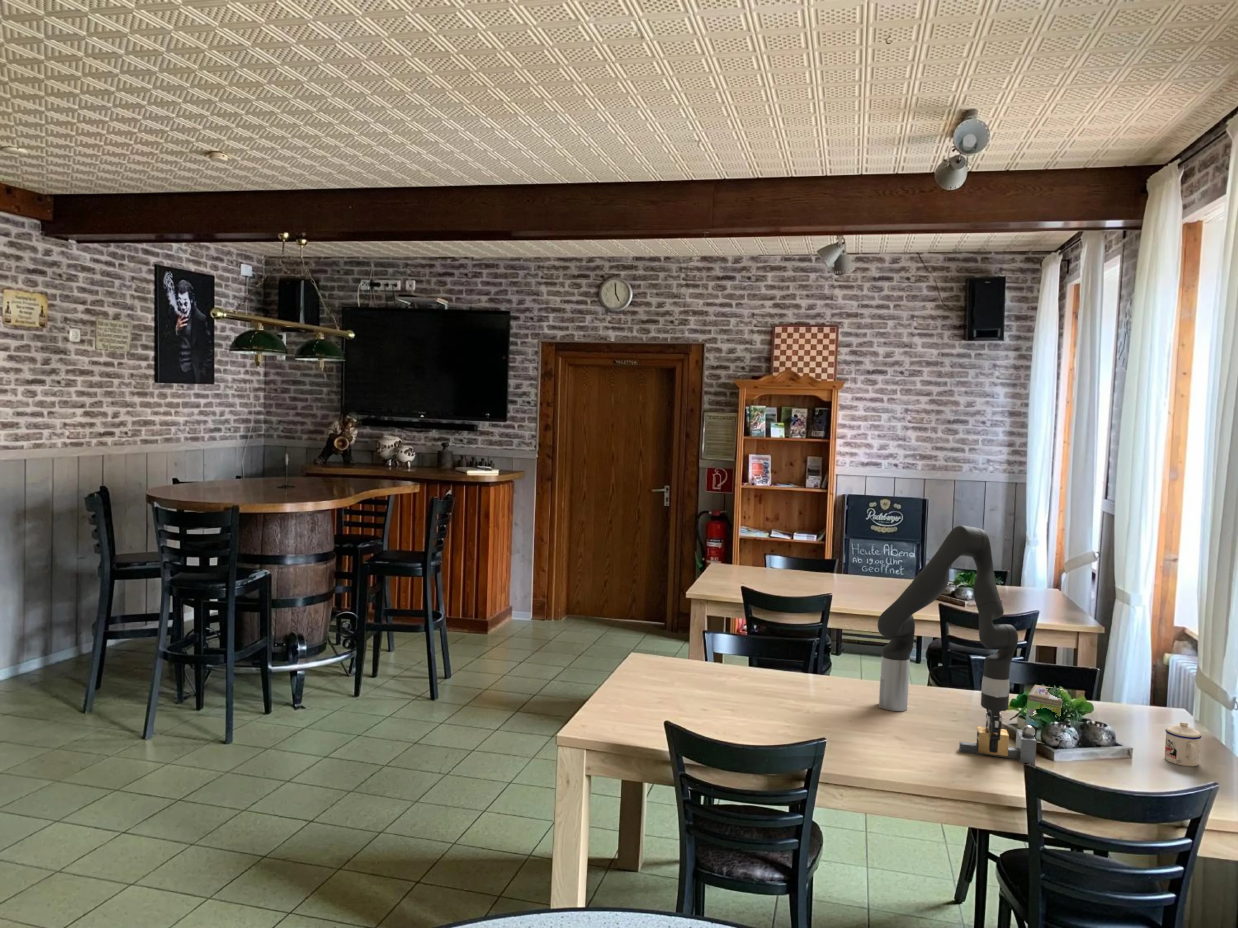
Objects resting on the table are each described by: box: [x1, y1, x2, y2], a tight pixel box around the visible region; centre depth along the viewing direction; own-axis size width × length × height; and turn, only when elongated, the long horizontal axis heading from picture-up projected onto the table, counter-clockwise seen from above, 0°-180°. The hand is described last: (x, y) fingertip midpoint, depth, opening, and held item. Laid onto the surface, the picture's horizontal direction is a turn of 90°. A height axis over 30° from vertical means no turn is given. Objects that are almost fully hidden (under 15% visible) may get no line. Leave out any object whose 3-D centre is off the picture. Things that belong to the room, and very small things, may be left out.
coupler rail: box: [958, 725, 1037, 765], centre depth 274 cm, size 20×9×10 cm, turn 75°
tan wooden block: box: [976, 726, 1010, 756], centre depth 274 cm, size 8×6×6 cm
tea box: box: [1024, 684, 1069, 732], centre depth 290 cm, size 15×10×15 cm
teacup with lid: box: [1164, 721, 1202, 767], centre depth 273 cm, size 12×9×12 cm
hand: (991, 748), depth 274 cm, fingers closed on tan wooden block, 5 cm apart
